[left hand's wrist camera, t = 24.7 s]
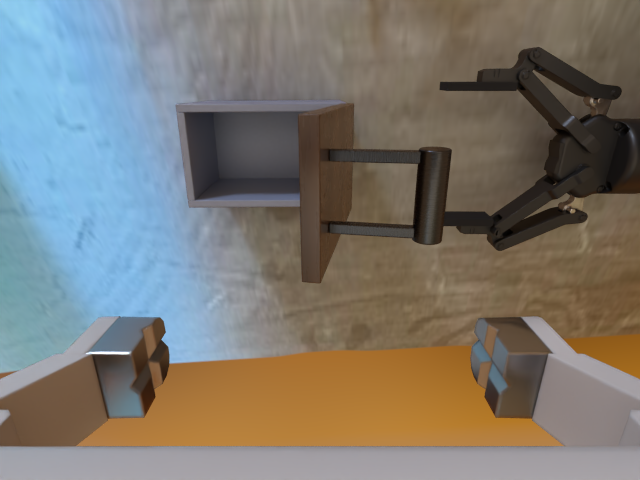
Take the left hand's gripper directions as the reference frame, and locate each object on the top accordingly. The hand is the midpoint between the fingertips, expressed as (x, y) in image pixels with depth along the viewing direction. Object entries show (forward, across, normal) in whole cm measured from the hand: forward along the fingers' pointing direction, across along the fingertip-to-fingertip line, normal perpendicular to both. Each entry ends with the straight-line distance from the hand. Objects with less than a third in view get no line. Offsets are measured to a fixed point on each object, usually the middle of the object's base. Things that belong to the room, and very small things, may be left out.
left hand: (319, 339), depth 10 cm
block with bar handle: (+21, 0, 0) cm, 21 cm away
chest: (+41, +5, 0) cm, 41 cm away
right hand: (+33, -12, 0) cm, 35 cm away
